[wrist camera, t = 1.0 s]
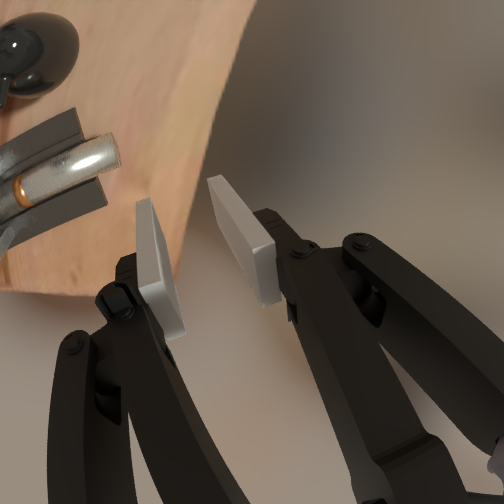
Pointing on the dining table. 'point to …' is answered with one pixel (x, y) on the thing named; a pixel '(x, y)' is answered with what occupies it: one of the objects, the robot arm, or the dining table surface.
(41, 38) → the black tall rounded dome
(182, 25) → the dining table surface
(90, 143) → the tube
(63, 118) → the twin arch cradle
